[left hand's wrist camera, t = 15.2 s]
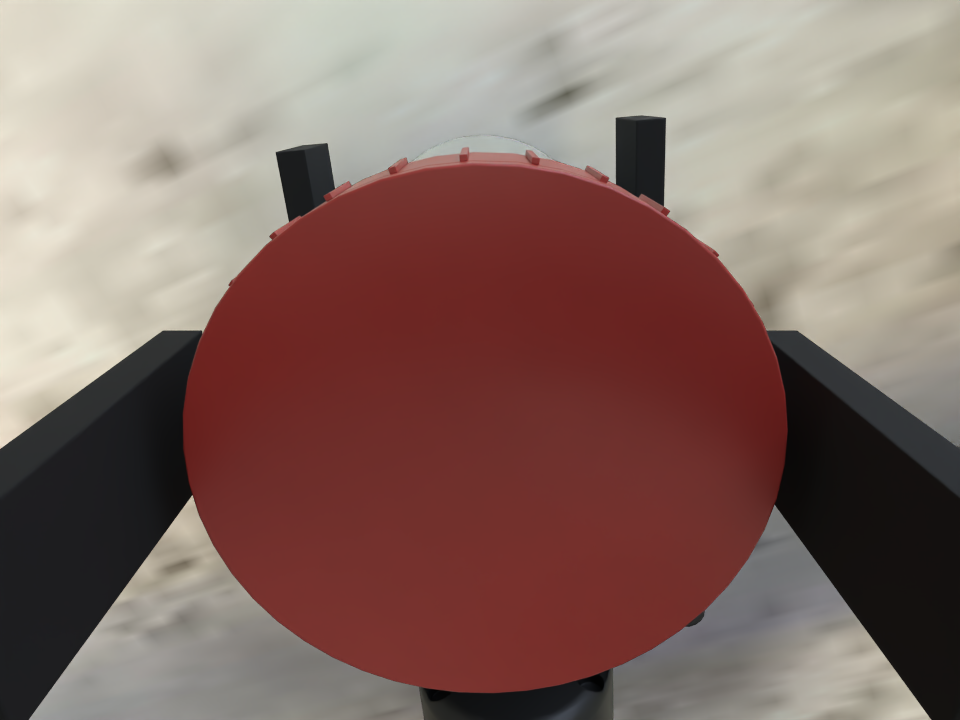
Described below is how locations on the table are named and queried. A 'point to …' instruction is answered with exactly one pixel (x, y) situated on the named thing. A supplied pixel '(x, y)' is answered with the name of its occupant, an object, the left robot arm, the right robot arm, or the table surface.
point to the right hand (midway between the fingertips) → (469, 133)
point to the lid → (484, 424)
